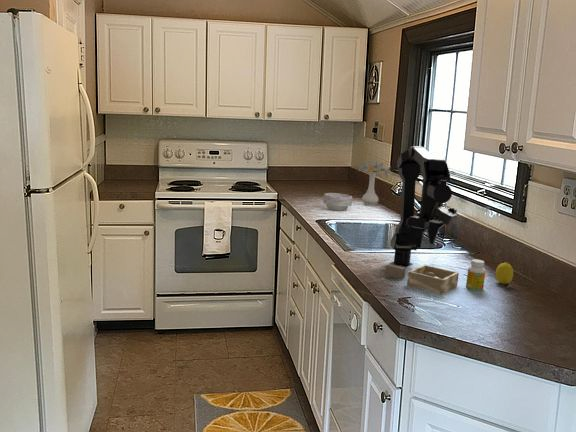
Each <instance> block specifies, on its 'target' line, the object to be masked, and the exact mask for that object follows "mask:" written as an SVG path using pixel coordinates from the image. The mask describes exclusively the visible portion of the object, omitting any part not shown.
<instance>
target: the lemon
mask: <svg viewBox="0 0 576 432" xmlns="http://www.w3.org/2000/svg"><path fill="white" fill-rule="evenodd" d="M513 277H514V268H513V266H512V265H511V264H510V263H508V262H507V261H505V262H502V263H500V264H499V265H498V266H497V267H496V269H495V279H496V280H497V282H498V283H500V284H501V285H506V284H509V283H510V282H512V280H513Z"/></svg>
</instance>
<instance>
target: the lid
mask: <svg viewBox="0 0 576 432" xmlns="http://www.w3.org/2000/svg"><path fill="white" fill-rule="evenodd" d="M406 268H407V267H403V266H398V265H394V264H390V263H389V264H386V265H385V274H384V275H385V276H387V277H390V278H395V279H398V280H403V279H405V278H406V277H405V276H406Z"/></svg>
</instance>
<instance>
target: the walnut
mask: <svg viewBox="0 0 576 432" xmlns="http://www.w3.org/2000/svg"><path fill="white" fill-rule="evenodd" d="M426 275H428V276H432V277H436V276H435V274H434V273H433V272H428V273H426Z"/></svg>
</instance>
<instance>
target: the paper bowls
mask: <svg viewBox="0 0 576 432" xmlns="http://www.w3.org/2000/svg"><path fill="white" fill-rule="evenodd" d="M323 204H324V205H325V206H326V208H327V209H328V210H330V211H334V212H345V211H347V209H348V208H349V207H351V206H352V204H353V196H352V195H349V194H346V193H345V194H344V193H338V192H326V193H324V194H323Z"/></svg>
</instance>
